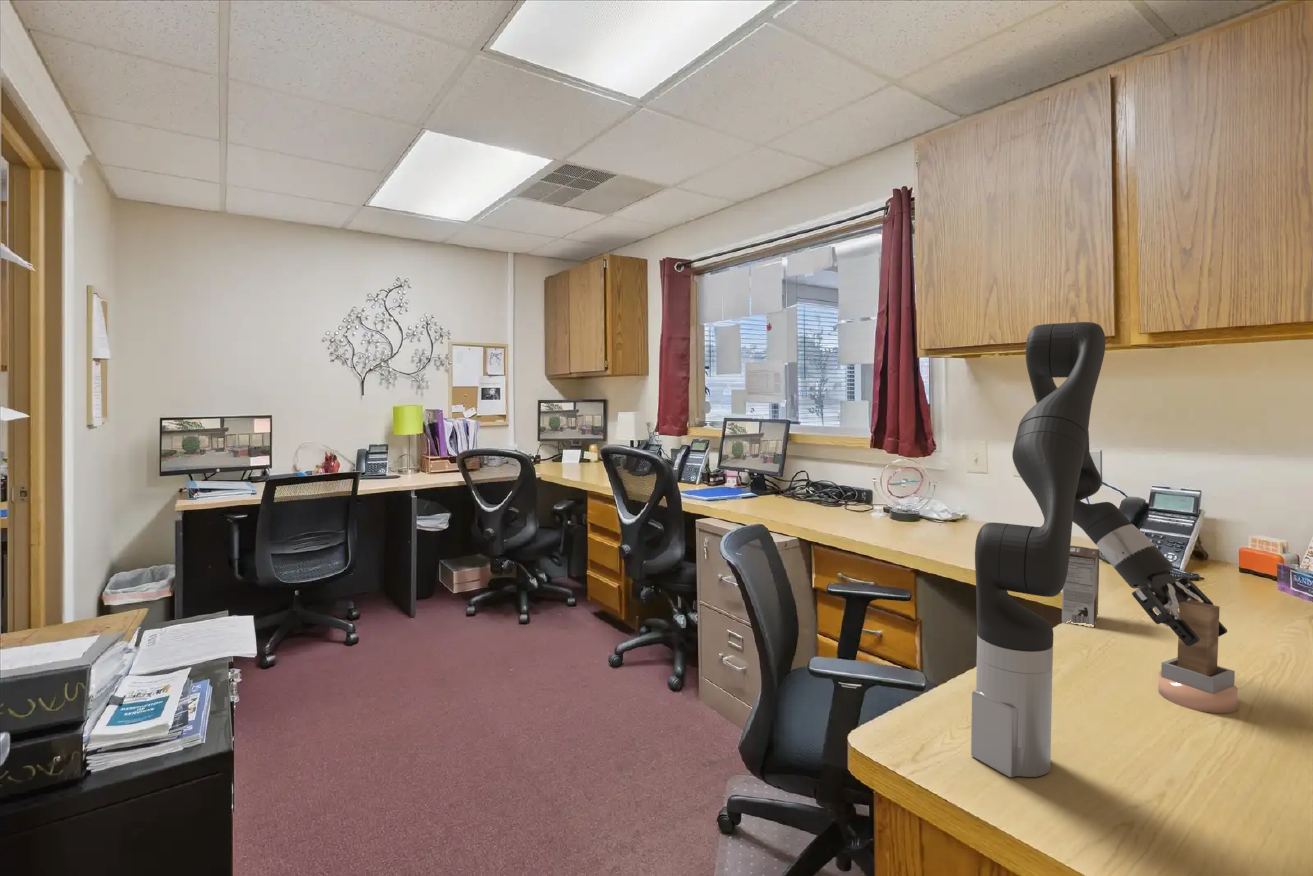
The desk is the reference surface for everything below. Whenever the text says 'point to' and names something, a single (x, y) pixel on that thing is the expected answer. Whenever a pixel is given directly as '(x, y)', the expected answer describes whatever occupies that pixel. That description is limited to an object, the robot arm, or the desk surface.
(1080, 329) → the robot arm
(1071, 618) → the coffee box
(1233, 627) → the desk surface
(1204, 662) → the brown wooden block
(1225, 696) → the dish
